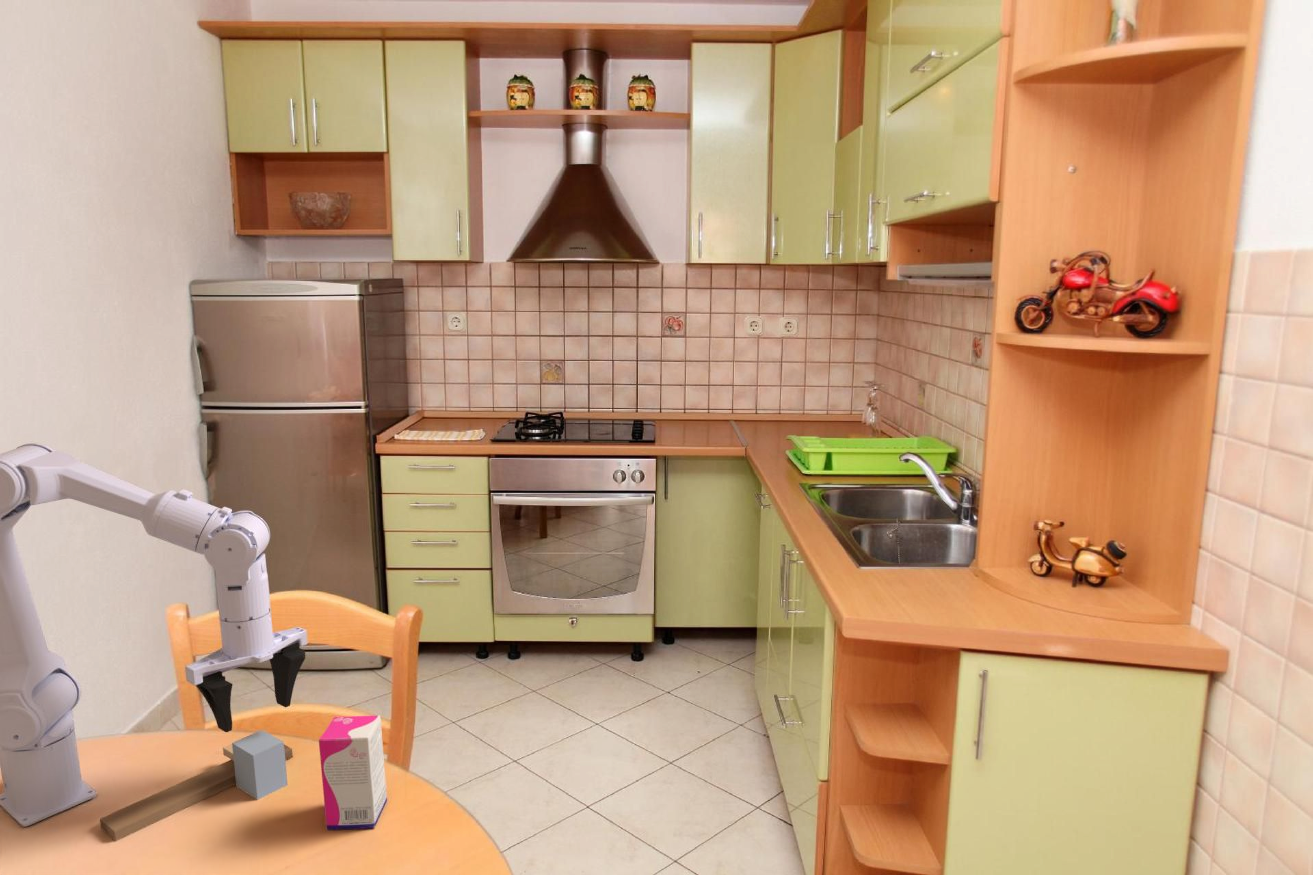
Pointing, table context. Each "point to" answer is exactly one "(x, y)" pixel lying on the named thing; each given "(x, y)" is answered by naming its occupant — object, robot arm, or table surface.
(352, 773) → the supplement box
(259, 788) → the grey tall block
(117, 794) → the table surface
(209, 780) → the board
